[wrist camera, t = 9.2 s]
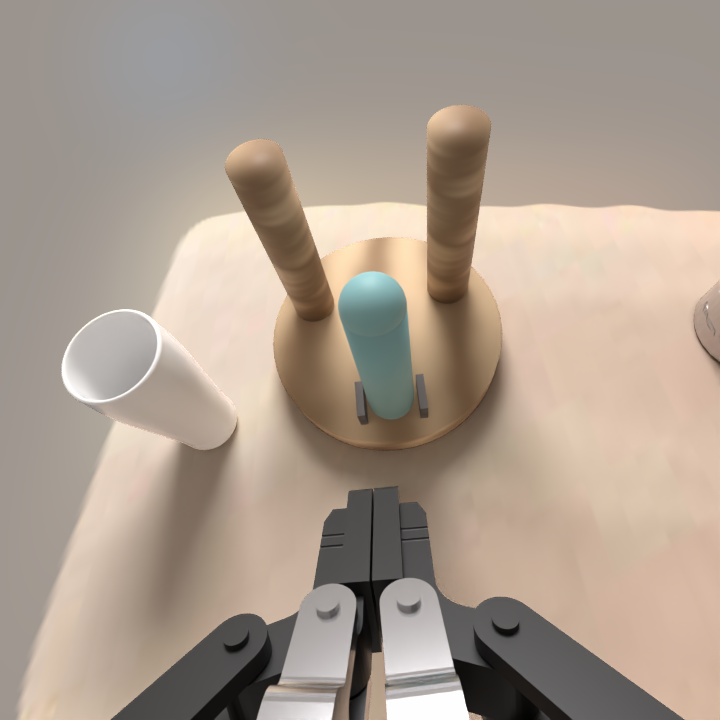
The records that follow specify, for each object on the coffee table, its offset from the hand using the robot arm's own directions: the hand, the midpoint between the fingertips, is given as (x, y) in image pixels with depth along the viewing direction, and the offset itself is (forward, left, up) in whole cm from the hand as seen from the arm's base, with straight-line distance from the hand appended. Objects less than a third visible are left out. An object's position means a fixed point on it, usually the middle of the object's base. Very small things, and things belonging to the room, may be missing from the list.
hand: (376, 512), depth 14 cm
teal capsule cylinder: (0, -11, -21) cm, 23 cm away
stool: (0, -18, -24) cm, 30 cm away
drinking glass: (+17, -12, -24) cm, 32 cm away
